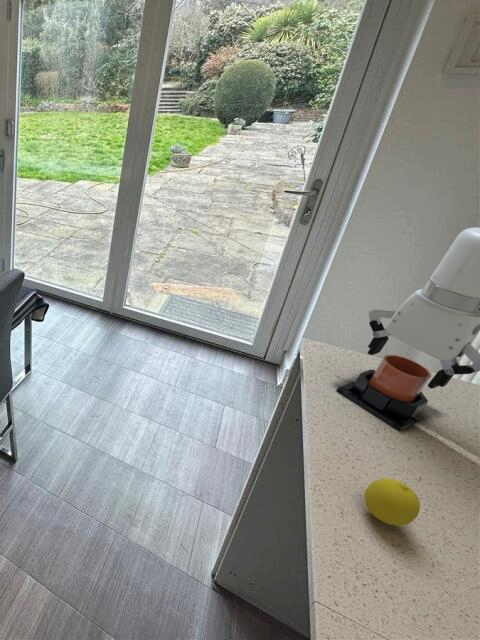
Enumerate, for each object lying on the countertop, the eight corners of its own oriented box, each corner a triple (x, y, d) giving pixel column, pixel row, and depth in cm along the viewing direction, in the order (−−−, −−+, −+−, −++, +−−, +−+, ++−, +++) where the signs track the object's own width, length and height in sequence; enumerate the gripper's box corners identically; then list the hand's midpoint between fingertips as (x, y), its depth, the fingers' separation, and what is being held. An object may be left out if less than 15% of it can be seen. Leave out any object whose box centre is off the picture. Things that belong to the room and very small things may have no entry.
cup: (372, 387, 88) (396, 351, 84) (411, 410, 83) (438, 373, 78) (353, 395, 86) (376, 359, 82) (392, 419, 81) (418, 382, 76)
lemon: (368, 531, 62) (395, 498, 58) (347, 496, 66) (371, 464, 63) (412, 541, 60) (441, 508, 57) (387, 504, 65) (413, 472, 62)
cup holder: (367, 378, 91) (377, 363, 89) (431, 415, 82) (443, 399, 80) (336, 390, 87) (345, 375, 85) (399, 431, 78) (411, 414, 76)
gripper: (535, 320, 67) (471, 396, 75) (405, 270, 81) (362, 338, 89) (513, 328, 64) (449, 406, 72) (382, 275, 78) (341, 345, 86)
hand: (401, 368), depth 80 cm, fingers open, 9 cm apart
